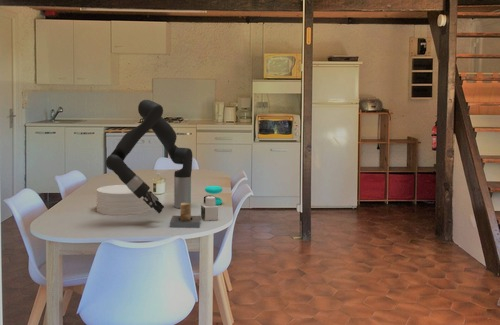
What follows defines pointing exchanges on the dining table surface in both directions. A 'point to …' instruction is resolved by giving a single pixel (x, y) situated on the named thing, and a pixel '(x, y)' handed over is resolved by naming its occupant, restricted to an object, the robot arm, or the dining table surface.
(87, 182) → the dining table surface
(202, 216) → the medicine bottle
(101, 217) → the dining table surface
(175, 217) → the socket plate
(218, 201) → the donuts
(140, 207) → the plate stack
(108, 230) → the dining table surface
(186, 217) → the square peg
